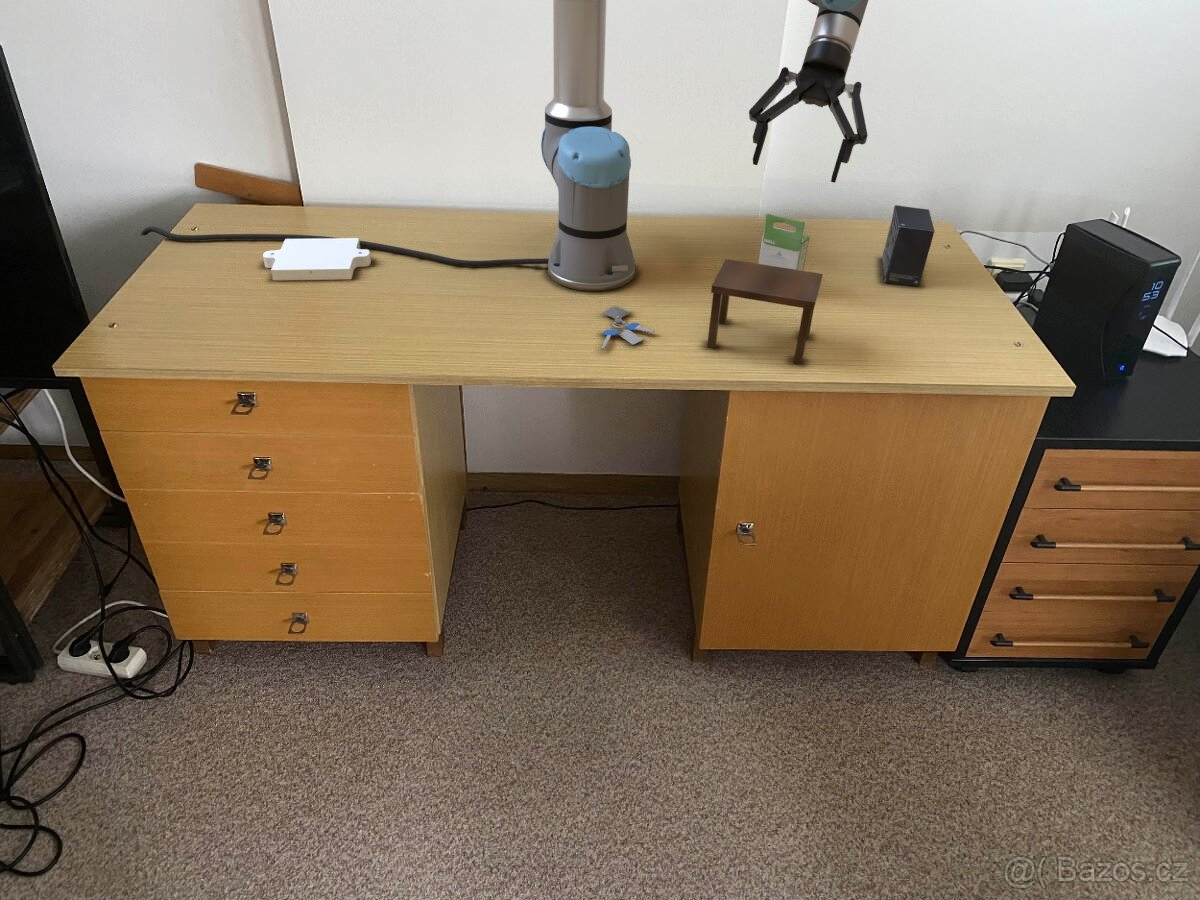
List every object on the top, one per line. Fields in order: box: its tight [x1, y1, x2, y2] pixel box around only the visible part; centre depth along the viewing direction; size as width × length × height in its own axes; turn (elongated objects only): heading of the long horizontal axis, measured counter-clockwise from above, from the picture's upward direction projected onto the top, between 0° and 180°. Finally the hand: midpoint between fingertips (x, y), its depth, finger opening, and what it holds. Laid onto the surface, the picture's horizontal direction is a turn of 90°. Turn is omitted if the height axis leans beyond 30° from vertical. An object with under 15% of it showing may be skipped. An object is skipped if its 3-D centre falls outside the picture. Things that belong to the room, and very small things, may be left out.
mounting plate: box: [262, 237, 372, 281], centre depth 154 cm, size 18×13×2 cm
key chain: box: [601, 306, 656, 350], centre depth 138 cm, size 14×8×1 cm, turn 178°
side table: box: [706, 258, 824, 365], centre depth 134 cm, size 15×10×10 cm, turn 72°
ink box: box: [757, 213, 811, 271], centre depth 148 cm, size 7×4×13 cm, turn 58°
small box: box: [880, 204, 936, 287], centre depth 155 cm, size 11×6×10 cm, turn 168°
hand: (793, 171), depth 150 cm, fingers open, 13 cm apart
